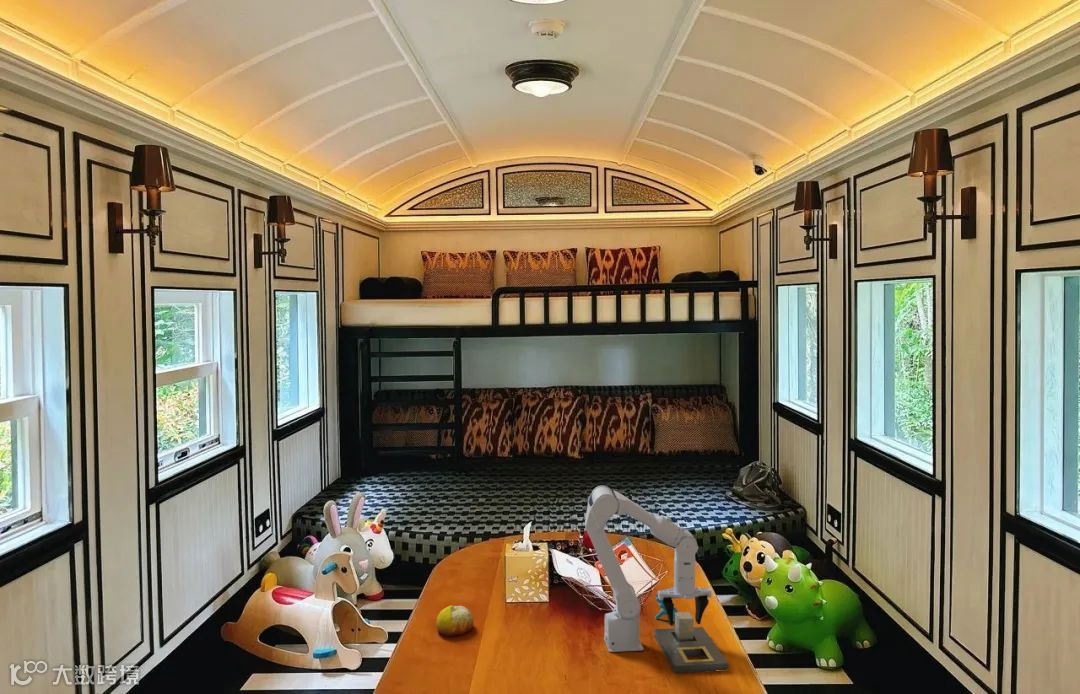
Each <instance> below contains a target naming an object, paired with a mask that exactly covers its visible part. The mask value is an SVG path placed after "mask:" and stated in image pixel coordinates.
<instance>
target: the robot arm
mask: <svg viewBox="0 0 1080 694" xmlns="http://www.w3.org/2000/svg"><path fill="white" fill-rule="evenodd" d="M615 514H616V516H617V517H619V516H622V515H627V516H629V517H631V518H632V519H634V520H636V521H638V522H640V523H641V524H644V525H645V526H647V527H648V528H649V531H650V535H652V536H654V537H655V538H657V539H659V540H660V541H661V542H663V543H665V544H667V546H670V547H674V558H673V587H670V588H667V589H662V590H661V589H660V590H657V593H658V598H659V600H662V602H663V604H664V606H665V609H666V612H667V621H668V624H669V626H674V619H673V609H674V607H675V603H674V602H673V599H685V600H692V599H693V598H694V604H695V617H694V618H695V623H696V624H698V625H701V622H702V618H703V615H704V612H705V610H706V608H707V607H708V605H709V599H711V598H712V590H711V589H710V587H696V554H697V553H698V550H699V545H698V542H697V539H696V538H695V537H694V536H693V534H692V533H691V532H690V530H688V529H687V528H685V527H684V526H679V525H677V524H676V523H674V522H672V519H671V517H669V516H665V517H664V516H663V515H656V516H654V515H653V514H652V513H650V512H649V511H647V510H646V509H644V508H643V507H642V506H640V505H638V504H637V503H635V502H634V501H633V500H631V499H629V498H628V497H627V496H625V495H623V494H622V493H620V492H619V491H617V490H614V489H613V490H612V489H611V488H610V487H609V486H607V485H598V486H596V487H595V488H594V489H593V490H592V491H591V493H590V495H589V496H588V498H587V507H586V514H585V521H584V526H585V529H586V532H587V534H588V537H589V538H590V541H591V543H592V546H593V549H594V550H595V553H596V555H597V558H598V559H599V562H600V564H601V566H602V568H603V571H604V574H605V576H606V578H607V579H608V582H609V585H610V586H611V589H612V597H613V601H614V602H615V605H614V607H613V610H612V611H611V612H608V613H604V637H603V640H604V642H605V645H606V647H607V650H608V652H609V653H617V652H619V653H621V652H635V651H637V652H638V651H639V652H640V651H644V647H643V644H642V643H641V640H640V615H641V614H640V612H641V606H642V605H641V603H640V600H639V599H638V597H637V594H636V591H635V588H634V587H633V585H631V584H630V583H629V582H628V581H627V578H626V576H625V574H624V572H623V569H622V567H621V565H620V562H619V560H618V558H617V555H616V553H615V551H614V549H613V547H612V544H611V541H610V540H609V537H608V535H607V533H606V530H605V526H606V525H607V522H608V521H609V520H610V519H611V518H612V517H613V516H615Z"/></svg>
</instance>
